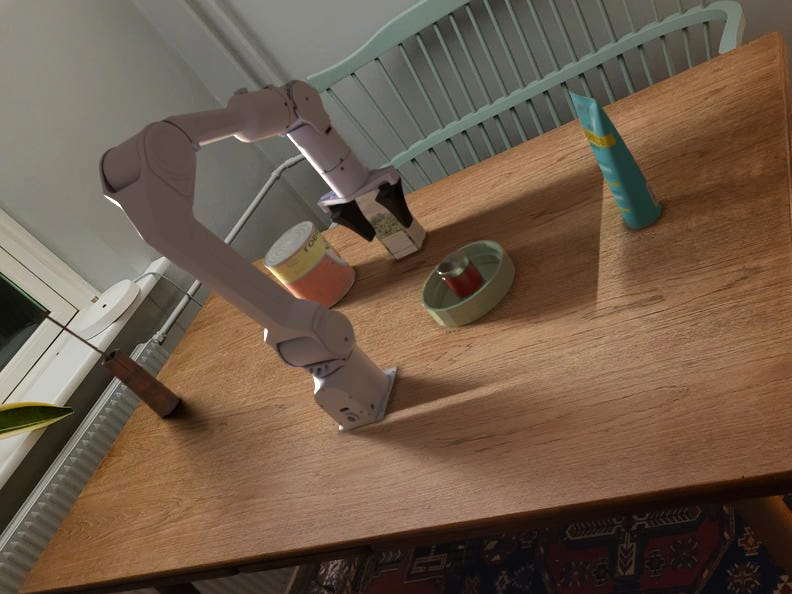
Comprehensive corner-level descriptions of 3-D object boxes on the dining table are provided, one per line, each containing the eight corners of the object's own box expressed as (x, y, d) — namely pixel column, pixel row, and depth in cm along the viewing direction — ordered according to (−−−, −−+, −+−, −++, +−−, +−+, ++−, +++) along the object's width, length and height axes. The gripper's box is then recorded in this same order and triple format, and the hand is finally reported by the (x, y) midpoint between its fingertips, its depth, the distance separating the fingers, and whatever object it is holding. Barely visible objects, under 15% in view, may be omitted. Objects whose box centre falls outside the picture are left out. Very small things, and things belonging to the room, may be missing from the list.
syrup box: (427, 231, 125) (377, 166, 116) (422, 251, 121) (370, 186, 112) (401, 243, 127) (351, 181, 119) (396, 263, 123) (343, 200, 115)
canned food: (360, 284, 126) (316, 234, 119) (311, 322, 127) (265, 275, 120) (350, 260, 135) (308, 213, 128) (304, 296, 136) (261, 251, 129)
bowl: (511, 312, 95) (496, 292, 93) (427, 341, 102) (412, 322, 100) (522, 247, 104) (508, 227, 102) (445, 277, 111) (430, 259, 109)
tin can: (484, 296, 100) (461, 267, 97) (457, 306, 102) (434, 277, 99) (489, 275, 103) (467, 245, 100) (462, 285, 105) (440, 256, 102)
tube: (615, 221, 96) (550, 102, 84) (642, 198, 96) (580, 75, 84) (647, 236, 90) (582, 110, 78) (676, 212, 90) (615, 82, 78)
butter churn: (200, 382, 137) (76, 282, 120) (174, 422, 132) (40, 323, 115) (174, 387, 142) (52, 292, 125) (148, 426, 137) (17, 332, 120)
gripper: (381, 127, 99) (434, 200, 107) (310, 161, 107) (365, 227, 115) (364, 156, 95) (421, 230, 103) (292, 189, 103) (350, 256, 111)
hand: (391, 231), depth 109 cm, fingers open, 7 cm apart
